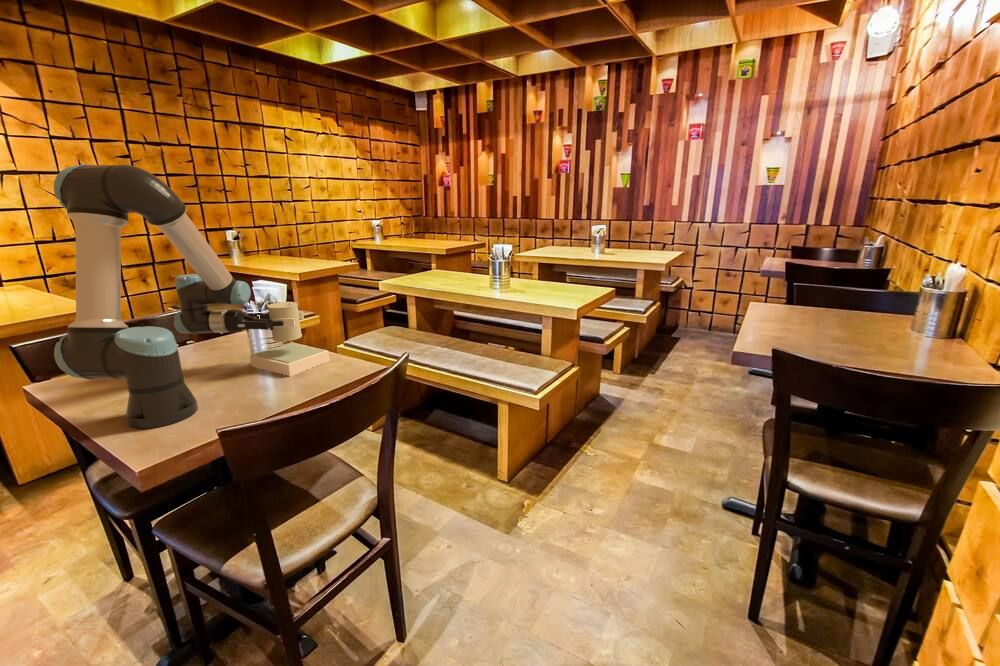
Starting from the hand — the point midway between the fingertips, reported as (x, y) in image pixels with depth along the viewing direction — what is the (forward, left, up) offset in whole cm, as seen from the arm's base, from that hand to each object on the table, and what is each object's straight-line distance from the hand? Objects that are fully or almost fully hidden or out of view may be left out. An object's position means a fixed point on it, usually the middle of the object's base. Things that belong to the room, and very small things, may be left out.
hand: (298, 318), depth 152 cm
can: (+2, +4, -7) cm, 8 cm away
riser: (+2, +4, -16) cm, 17 cm away
